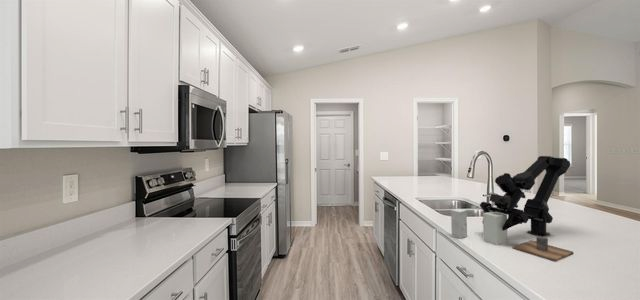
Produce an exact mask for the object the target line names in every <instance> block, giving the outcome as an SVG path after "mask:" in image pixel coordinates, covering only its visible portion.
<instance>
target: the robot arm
mask: <svg viewBox="0 0 640 300" xmlns="http://www.w3.org/2000/svg"><path fill="white" fill-rule="evenodd" d="M570 166H571V162H570V160H569V159H567V158H566V157H554V156H551V155H540V156H538V157H537V159H536V160H535V161H534V162H533V163H532V164H531V165H530V166H529V167H528V168H526V170H524V171H523V172H520V173H517V174H516V175H513V176H512V175H511V174H510V173H507V172H504V173H503V174H500V175H498V177H495V180H494V183H495V184H496V185H497V187H499V189H500V190H501V191H502V192H503V193H504V195H501V194H496V193H495V194H494V193H491V194H490V197H489V201H490V202H487V201H481V202H480V203H479V207H480V208H481V209H482V211H483V213H487V212H497V213H501V214H505V215H507V220H506V222H505V224H504V225H503V227H502V230H503V231H504V230H506V229H507V230H508V229H510V228H512V227H514V226H518V225H520V224H521V225H522V224H527V223H528V221H529V220H530V230H527V231H526V232H527V233H529V234H531V235H535V236H538V237H539V236H541V237H545V236H549V235H551V233H550V232H547V224H551V223H552V222H553V219H554V217H553V216H552V215H551V213H550V212H549V211H550V208H549V205H548V201H549V200H550V197H551V195H552V193H553V191H554V188H555V186H556V184H557V183H558V181H559V180H558V179H559V177H561V176H562V175H564V174H566V173H567V171H568V169H569V168H570ZM544 171H545V174H544V176H543V178H542V180H541V183H540V184H539V187H538V189H537V191H536V193H535V195H534V197H533V198H532V199H531V198H527V200H526V202H525V204H524V207H523V210H522V209H518V208H519V205H518V203H519V202H520V200H521V199H526V194H525V191H530V190H531V189H532V188H533V187H534V185H536V181H535V180H536V179H537V178H538V177H539V176H540V175H541V174H542V173H543V172H544ZM522 190H525V191H522ZM491 202H493V204H492V203H491ZM482 224H483V221H482Z"/></svg>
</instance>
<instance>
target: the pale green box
mask: <svg viewBox="0 0 640 300" xmlns="http://www.w3.org/2000/svg"><path fill="white" fill-rule="evenodd" d="M507 219H508V215H506V214H502V213H498V212H487V213H484V212H483V213H482V222H483V223H482V228H483V229H482V232H483V236H482V238H483V241H485V242H488V243H491V244H493V245H496V246H499V245H503V244H507V243H508V229H506V230H504V231H503V230H502V227H503V225H504V224H505V222H506V220H507Z"/></svg>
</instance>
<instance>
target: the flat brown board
mask: <svg viewBox="0 0 640 300" xmlns="http://www.w3.org/2000/svg"><path fill="white" fill-rule="evenodd" d="M535 238H536V240H535V241H534V240H528V241H526V242H522V243H520V244H519V243H518V244H517V245H513V246H512V250H516V251H519V252H523V253H525V254H530V255H533V256H536V257H538V258H541V259H545V260H548V261H551V262H554V261H555V262H558V261H560V260H562V259H565V258H568V257H570V256H573V255H574V251H572V250H569V249H564V248H561V247H557V246H553V245H550V244H549V242H548V240H549V238H548V237H545V236H539V235H538V236H536V237H535Z"/></svg>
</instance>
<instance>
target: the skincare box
mask: <svg viewBox="0 0 640 300" xmlns="http://www.w3.org/2000/svg"><path fill="white" fill-rule="evenodd" d="M467 216H468V215H467V209H462V208H455V209H451V211H450V218H451V236H452V237H453V238H456V239H462V238H465V237H467V236H468V222H467Z"/></svg>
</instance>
